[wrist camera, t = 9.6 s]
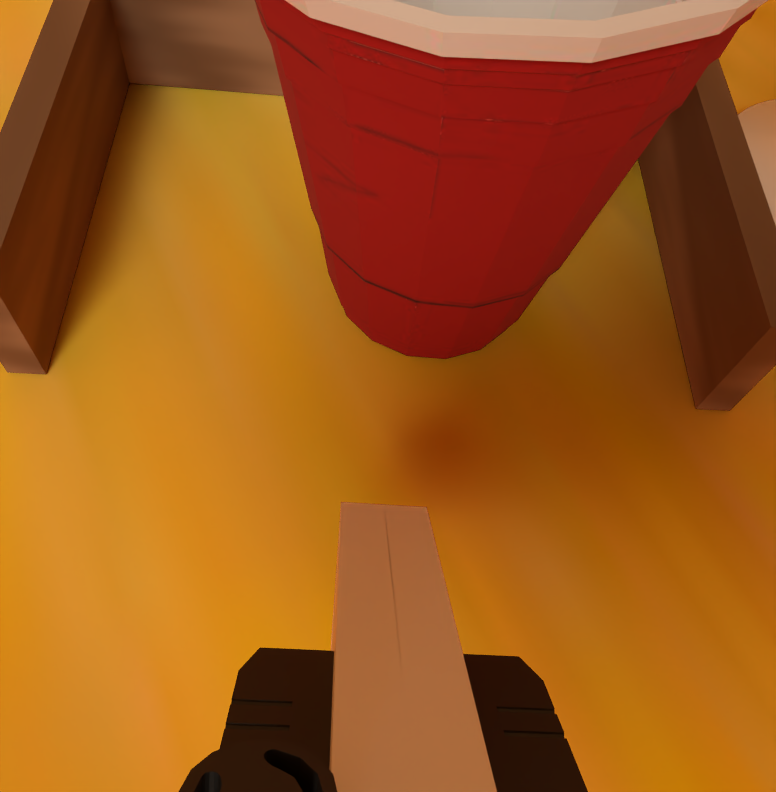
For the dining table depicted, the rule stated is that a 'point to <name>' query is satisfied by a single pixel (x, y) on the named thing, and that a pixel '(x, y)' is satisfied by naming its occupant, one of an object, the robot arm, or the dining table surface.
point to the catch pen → (257, 73)
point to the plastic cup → (474, 141)
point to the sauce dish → (763, 145)
